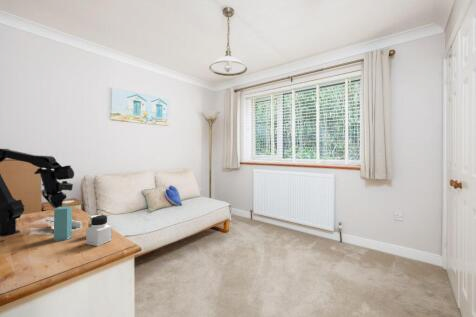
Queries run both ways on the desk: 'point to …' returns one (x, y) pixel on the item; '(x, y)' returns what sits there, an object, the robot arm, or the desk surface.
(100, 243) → the medicine bottle
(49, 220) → the cover
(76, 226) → the white channel beam
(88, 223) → the supplement bottle
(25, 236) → the desk surface
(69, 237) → the coaster
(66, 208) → the teal box
